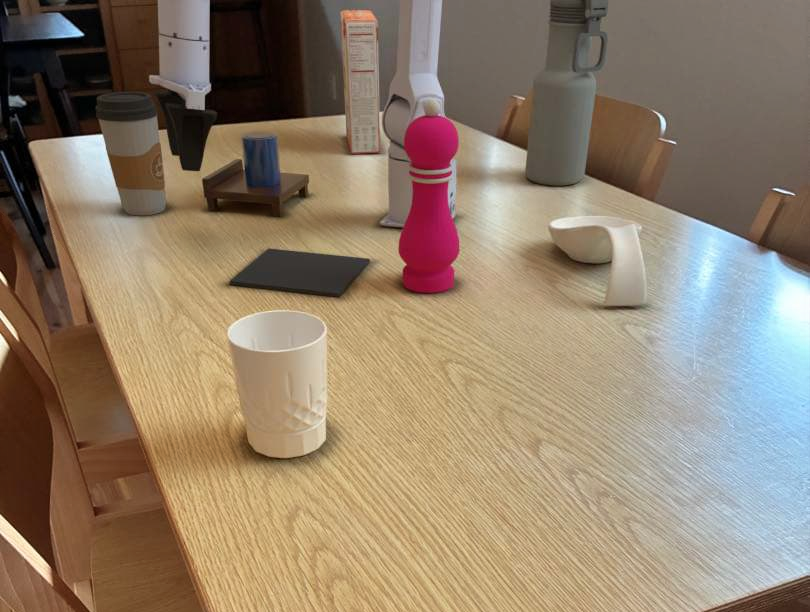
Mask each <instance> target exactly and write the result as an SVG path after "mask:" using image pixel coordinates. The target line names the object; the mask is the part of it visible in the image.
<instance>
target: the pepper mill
mask: <svg viewBox="0 0 810 612" xmlns="http://www.w3.org/2000/svg"><path fill="white" fill-rule="evenodd" d="M424 112H425V114H426V115H424V116H421V117H418V118H416V119H415V120H413V121H412V122H411V123H410V124H409V126H408V128H407V130H406V132H405V137H404V149H405V152H406V154H407V155H408V157H409V158H410V160H411V162H412V163H410V164H409V166H408V168H409V174H408V177H409V178H410V179H411V180H412V188H413V194H412V204H411V209H410V212H409V215H408V218H407V220H406V222H405V224H404V227H403V228H401V232H400V236H399V239H398V254H399V257H400V258H401V260H402V261H403V262H404V263H405V266H403V268H402V284H403V286H404V287H405V288H406V289H407V290H409V291H411V292H414V293H415V292H416V293H421V294H437V293H443V292H445V291H448V290H450V289H452V287H453V286H454V285H455V269H454V267H453V266H452V264H453V263H454V262H455V261H456V260H457V258H458V256H459V255H460V239H459V238H460V237H459V234H458V230H457V227H456V225H455V221H454V218H453V219H452V216H451V213H450V210H449V204H448V184H449V180H451V179H452V178H453V174H452V170H453V165H452V164H451V163H450V161H451V160H452V158H454V157H455V156H456V155H457V153H458V150H459V143H460V138H459V131H458V130H457V128H456V126H455V124H454V123H453V122H452V121H451V120H450V119H448V118H447V117H446V116H445V117H446V118H445V117H442V116H438V114H439V113H440V104H439V103H438V101H436V100H435V99H430V100H428V101H427V102H426V103H425V105H424Z"/></svg>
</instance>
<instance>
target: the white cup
mask: <svg viewBox="0 0 810 612" xmlns="http://www.w3.org/2000/svg"><path fill="white" fill-rule="evenodd" d="M226 339H227V345H228V350H229V355H230V360H231V367H232V373H233V376H234V381H235V387H236V392H237V396H238V399H239V400H238V401H239V406H240V410H241V413H242V416H243V418H244V426H245V431H246V436H247V442H248V444H249V445H250V446H251V448H252V449H253V450H254V451H255V452H256V453H259V454H261V455H264V456H266V457H269V458H279V459H291V458H298V457H303V456H307V455H308V454H310V453H312V452H314V451H317V450H318V449H320V448H321V446H322V445H323V444H324V443H325V442H326V440H327V428H326V427H327V410H328V393H329V392H328V390H329V389H328V327H327V324H326V322H324V321H323V319H321V318H320V317H318V316H316V315H314V314H312V313H309V312H304V311H299V310H289V309H275V310H265V311H259V312H255V313H250V314H248V315H245V316H242V317H241V318H239V319H237V320H235V321H234V322H233V323H231V324H230V325H229V326H228V327H227V330H226Z"/></svg>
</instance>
